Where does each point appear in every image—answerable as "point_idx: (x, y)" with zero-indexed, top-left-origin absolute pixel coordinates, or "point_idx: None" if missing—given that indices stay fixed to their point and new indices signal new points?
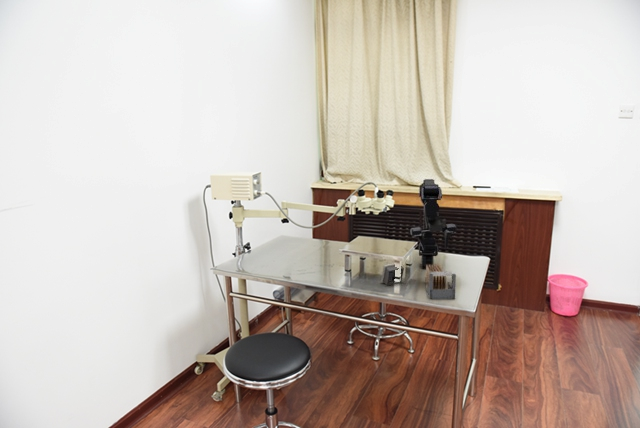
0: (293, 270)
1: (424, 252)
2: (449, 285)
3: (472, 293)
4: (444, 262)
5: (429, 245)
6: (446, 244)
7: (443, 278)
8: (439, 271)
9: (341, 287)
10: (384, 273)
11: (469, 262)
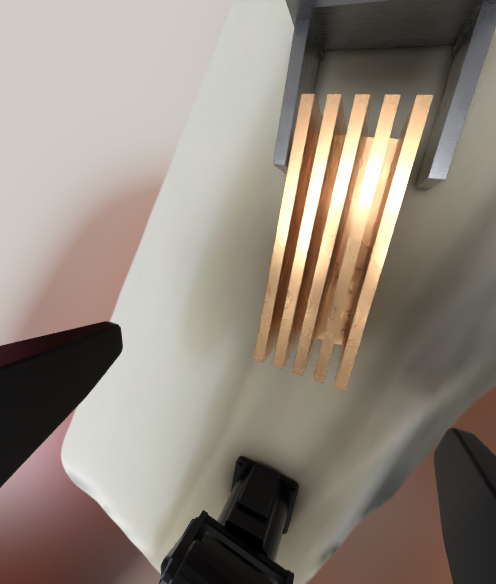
0: None
1: (262, 573)
2: (296, 106)
3: (196, 125)
4: (180, 493)
5: None
6: (52, 341)
7: (314, 140)
8: (315, 196)
9: None
10: None
11: (106, 447)
